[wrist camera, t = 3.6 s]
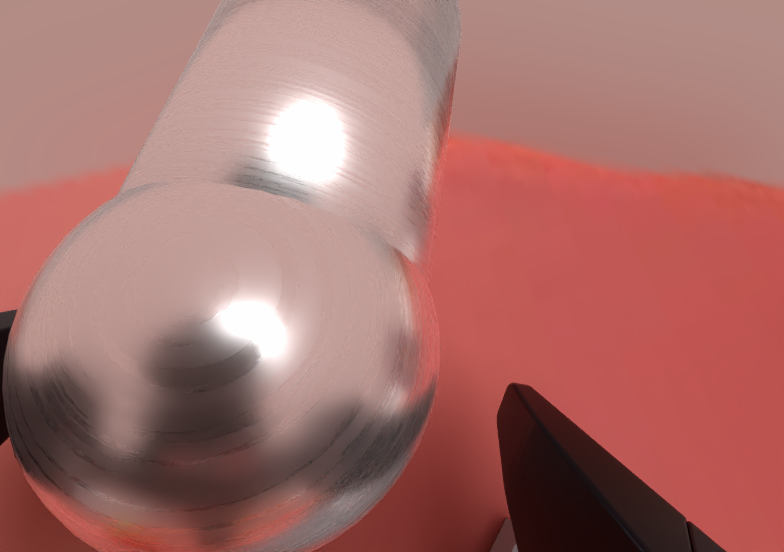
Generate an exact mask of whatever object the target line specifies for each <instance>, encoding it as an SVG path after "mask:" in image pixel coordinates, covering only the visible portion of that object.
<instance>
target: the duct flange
mask: <svg viewBox="0 0 784 552" xmlns="http://www.w3.org/2000/svg"><path fill="white" fill-rule="evenodd" d="M490 552H518V550H517V545H516V541H515V536H514V532H513V527H512V523H511V520H509V519H507V518H506V519H505V521H504V523H503V525H502V527H501V529H500V531H499V533H498V536H497V538H496V540H495V542H494V544H493V546H492V548H491V550H490Z"/></svg>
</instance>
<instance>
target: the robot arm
mask: <svg viewBox="0 0 784 552" xmlns="http://www.w3.org/2000/svg"><path fill="white" fill-rule="evenodd" d="M17 310H18V309H17ZM17 310H12V311H6V312H1V313H0V445H1V444H2V443H3V442H5V441H6V440H7V439H8V438H9V437H10V436H9V433H8V429H7V424H6V418H5V409H4V399H3V390H2V385H3V366H4V357H5V352H6V347H7V342H8V337H9V333H10V330H11V327H12V324H13V321H14V319H15V316H16V313H17ZM497 429H498V438H499V447H500V456H501V465H502V473H503V482H504V489H505V495H506V500H507V505H508V509H509V514H510V518H511V523H512V527H513V532H514V536H515V541H516V545H517V550H518V552H726V551H725V550H724V549H722V548H721V547H720V546H719V545H718V544H716V543H715V542H714V541H713V540H712V539H710V538H709V537H708V536H707V535H706V534H705V533H703V532H702V531H701V530H700V529H699V528H698V527H696V526H695V525H694V524H693V523H692V522H690V521H686V518H685V517H684V516H683V515H682V514H681V513H680V512H679V511H677V510H676V509H675V508H674V507H673V506H671V505H670V504H669V503H668V502H667V501H666V500H664V499H663V498H662V497H661V496H660V495H658V494H657V493H656V492H655V491H654V490H653V489H651V488H650V487H649V486H648V485H647V484H645V483H644V482H643V481H642V480H641V479H639V478H638V477H637V476H636V475H635V474H634V473H632V472H631V471H630V470H629V469H628V468H626V467H625V466H624V465H623V464H622V463H621V462H619V461H618V460H617V459H616V458H615V457H613V456H612V455H611V454H610V453H609V452H608V451H606V450H605V449H604V448H603V447H602V446H600V445H599V444H598V443H597V442H596V441H595V440H593V439H592V438H591V437H590V436H589V435H587V434H586V433H585V432H584V431H583V430H582V429H580V428H579V427H578V426H577V425H576V424H574V423H573V422H572V421H571V420H570V419H569V418H567V417H566V416H565V415H564V414H563V413H561V412H560V411H559V410H558V409H557V408H556V407H554V406H553V405H552V404H551V403H550V402H548V401H547V400H546V399H545V398H544V397H543V396H541V395H540V394H539V393H538V392H537V391H535V390H534V389H533V388H532V387H531V386H529V385H524V384H518V383H511V384H509V385H508V387H507V389H506V392H505V394H504V397H503V400H502V402H501V405H500V408H499V410H498V414H497Z"/></svg>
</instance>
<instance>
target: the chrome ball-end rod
mask: <svg viewBox="0 0 784 552" xmlns="http://www.w3.org/2000/svg"><path fill="white" fill-rule="evenodd" d="M460 38H461V17H460V10H459V5H458V0H221V2H220V4H219V6H218V8H217V10H216V12H215V13H214V15H213V17H212V19H211V21H210V23H209V25H208V26H207V28H206V30H205V32H204V34H203V36H202V38H201V39H200V41H199V43H198V45H197V47H196V49H195V51H194V53H193V54H192V56H191V58H190V60H189V62H188V64H187V66H186V67H185V69H184V71H183V73H182V75H181V77H180V79H179V80H178V82H177V84H176V86H175V88H174V90H173V92H172V94H171V95H170V97H169V99H168V101H167V103H166V105H165V106H164V108H163V110H162V112H161V114H160V116H159V118H158V119H157V121H156V123H155V125H154V127H153V129H152V131H151V133H150V135H149V136H148V138H147V140H146V142H145V144H144V146H143V147H142V149H141V151H140V153H139V155H138V157H137V159H136V160H135V162H134V164H133V166H132V168H131V170H130V172H129V173H128V175H127V177H126V179H125V181H124V183H123V185H122V187H121V188H120V190H119V192H118V194H117V196H115V197H114V198H112V199H111V200H109V201H107V202H106V203H104V204H102V205H101V206H100V207H98V208H97V209H96V210H95V211H93V212H92V213H91V214H89V215H88V216H87V217H86V218H84V219H83V220H82V221H81V222H80V223H79V224H78V225H77V226H75V227H74V228H73V229H72V230H71V231H70V232H69V233H68V234H67V235H66V236H65V237H64V238H63V239H62V240H61V242H60V243H59V244H58V245H57V246H56V248H55V249H54V250H53V251H52V252H51V254H50V255H49V256H48V257H47V259H46V260H45V262H44V263H43V265H42V266H41V268H40V269H39V271H38V272H37V274H36V275H35V277H34V278H33V280H32V282H31V283H30V285H29V287H28V289H27V291H26V293H25V295H24V297H23V299H22V301H21V303H20V305H19V307H18V310H17V313H16V316H15V319H14V321H13V324H12V327H11V330H10V333H9V337H8V342H7V347H6V352H5V357H4V366H3V385H2V390H3V399H4V409H5V418H6V424H7V429H8V433H9V436H10V440H11V443H12V447H13V450H14V454H15V457H16V459H17V461H18V463H19V465H20V467H21V469H22V471H23V473H24V476H25V478H26V480H27V482H28V483H29V485H30V486H31V488H32V489H33V490H34V492H35V493H36V494H37V496H38V497H39V499H40V500H41V501H42V503H43V504H44V505H45V507H46V508H47V509H48V510H49V511H50V512H51V513H52V514H53V515H54V516H55V517H56V518H57V519H58V520H59V521H60V522H61V523H62V524H63V525H64V526H65V527H66V528H67V529H68V530H70V531H71V532H72V533H73V534H74V535H75V536H76V537H77V538H79V539H80V540H82V541H83V542H85V543H86V544H88V545H90V546H91V547H93V548H94V549H96V550H97V551H99V552H313V551H315V550H317V549H319V548H320V547H322V546H324V545H326V544H328V543H329V542H331V541H333V540H335V539H336V538H338V537H339V536H340V535H342V534H343V533H344V532H346V531H347V530H348V529H350V528H351V527H352V526H354V525H355V524H356V523H358V522H359V521H361V520H362V519H363V518H364V517H365V516H366V515H367V514H368V513H369V512H370V511H371V510H372V509H373V508H374V507H375V506H376V505H377V504H378V503H379V502H380V501H381V500H382V499H383V498H384V497H385V495H386V494H387V493H388V492H389V490H390V489H391V488H392V487H393V485H394V484H395V483H396V482H397V480H398V479H399V478H400V477H401V475H402V474H403V472H404V470H405V469H406V467H407V465H408V464H409V462H410V460H411V459H412V457H413V456H414V454H415V452H416V450H417V448H418V446H419V444H420V441H421V439H422V437H423V435H424V432H425V430H426V428H427V425H428V422H429V419H430V415H431V412H432V409H433V405H434V402H435V397H436V391H437V385H438V379H439V372H440V337H439V325H438V320H437V316H436V311H435V306H434V302H433V299H432V296H431V294H430V291H429V285H430V277H431V269H432V261H433V253H434V245H435V238H436V230H437V222H438V214H439V206H440V198H441V190H442V182H443V175H444V167H445V159H446V151H447V143H448V135H449V127H450V120H451V112H452V104H453V96H454V88H455V80H456V72H457V64H458V57H459V49H460Z"/></svg>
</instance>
